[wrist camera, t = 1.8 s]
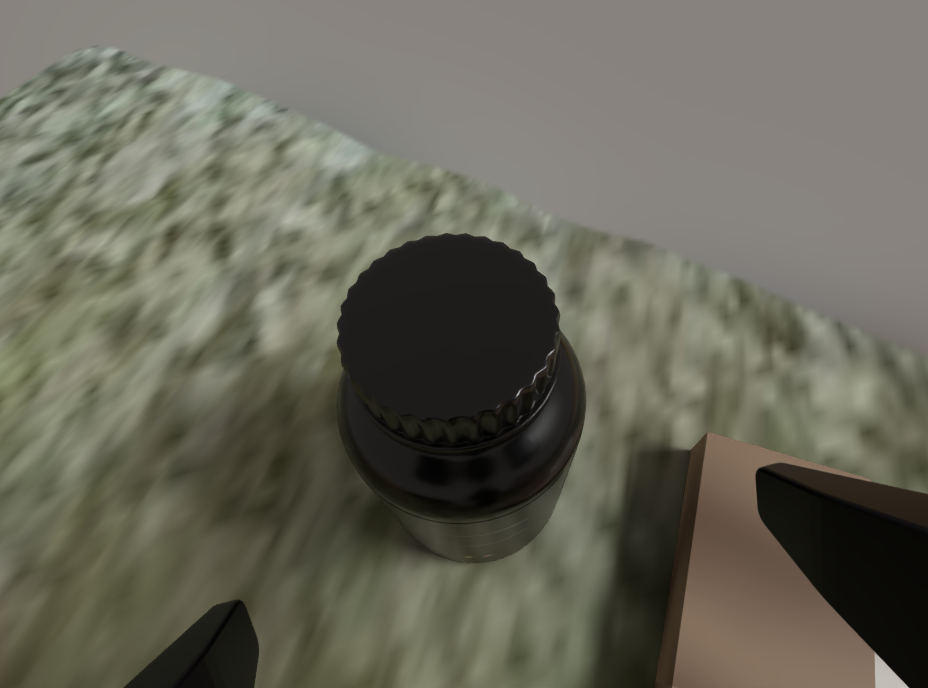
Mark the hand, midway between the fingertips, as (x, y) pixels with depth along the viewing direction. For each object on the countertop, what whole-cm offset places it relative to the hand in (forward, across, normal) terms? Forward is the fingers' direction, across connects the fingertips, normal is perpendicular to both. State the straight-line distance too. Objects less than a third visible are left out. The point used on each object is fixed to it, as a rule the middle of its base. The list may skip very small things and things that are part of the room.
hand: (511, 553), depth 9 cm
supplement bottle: (+12, 0, +5) cm, 13 cm away
